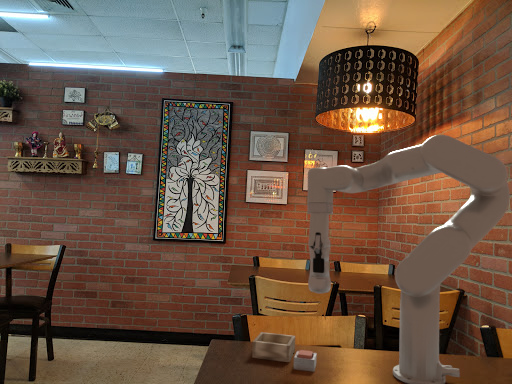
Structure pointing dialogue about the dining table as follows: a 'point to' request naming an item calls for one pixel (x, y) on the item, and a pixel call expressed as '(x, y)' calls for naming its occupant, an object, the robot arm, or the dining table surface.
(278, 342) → the bottle caddy
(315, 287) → the plastic bottle
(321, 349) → the dining table surface
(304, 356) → the button
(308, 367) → the button housing
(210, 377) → the dining table surface
